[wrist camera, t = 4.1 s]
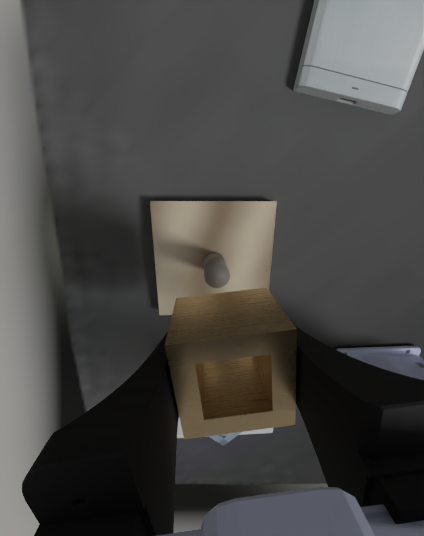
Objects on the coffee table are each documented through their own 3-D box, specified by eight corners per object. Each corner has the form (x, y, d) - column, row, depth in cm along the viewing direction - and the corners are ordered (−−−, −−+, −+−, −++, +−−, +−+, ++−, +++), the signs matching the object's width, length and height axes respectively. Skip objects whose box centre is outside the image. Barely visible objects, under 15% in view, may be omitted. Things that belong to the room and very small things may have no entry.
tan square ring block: (266, 287, 12) (297, 329, 8) (268, 360, 13) (295, 424, 10) (176, 298, 12) (164, 345, 8) (188, 370, 13) (184, 439, 10)
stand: (272, 201, 18) (295, 202, 14) (263, 307, 21) (279, 334, 17) (152, 201, 18) (137, 202, 13) (161, 309, 21) (151, 339, 16)
